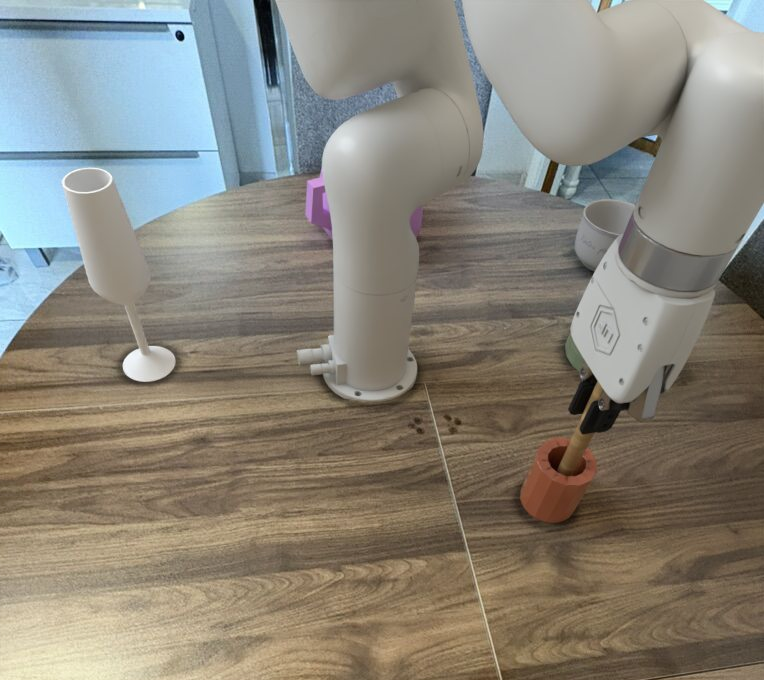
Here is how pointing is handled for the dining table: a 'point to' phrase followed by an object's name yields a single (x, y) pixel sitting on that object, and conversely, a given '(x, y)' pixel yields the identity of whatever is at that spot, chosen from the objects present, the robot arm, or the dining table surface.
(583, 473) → the holder
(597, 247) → the teacup
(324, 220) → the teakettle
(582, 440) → the stick
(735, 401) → the dining table surface
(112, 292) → the champagne flute
